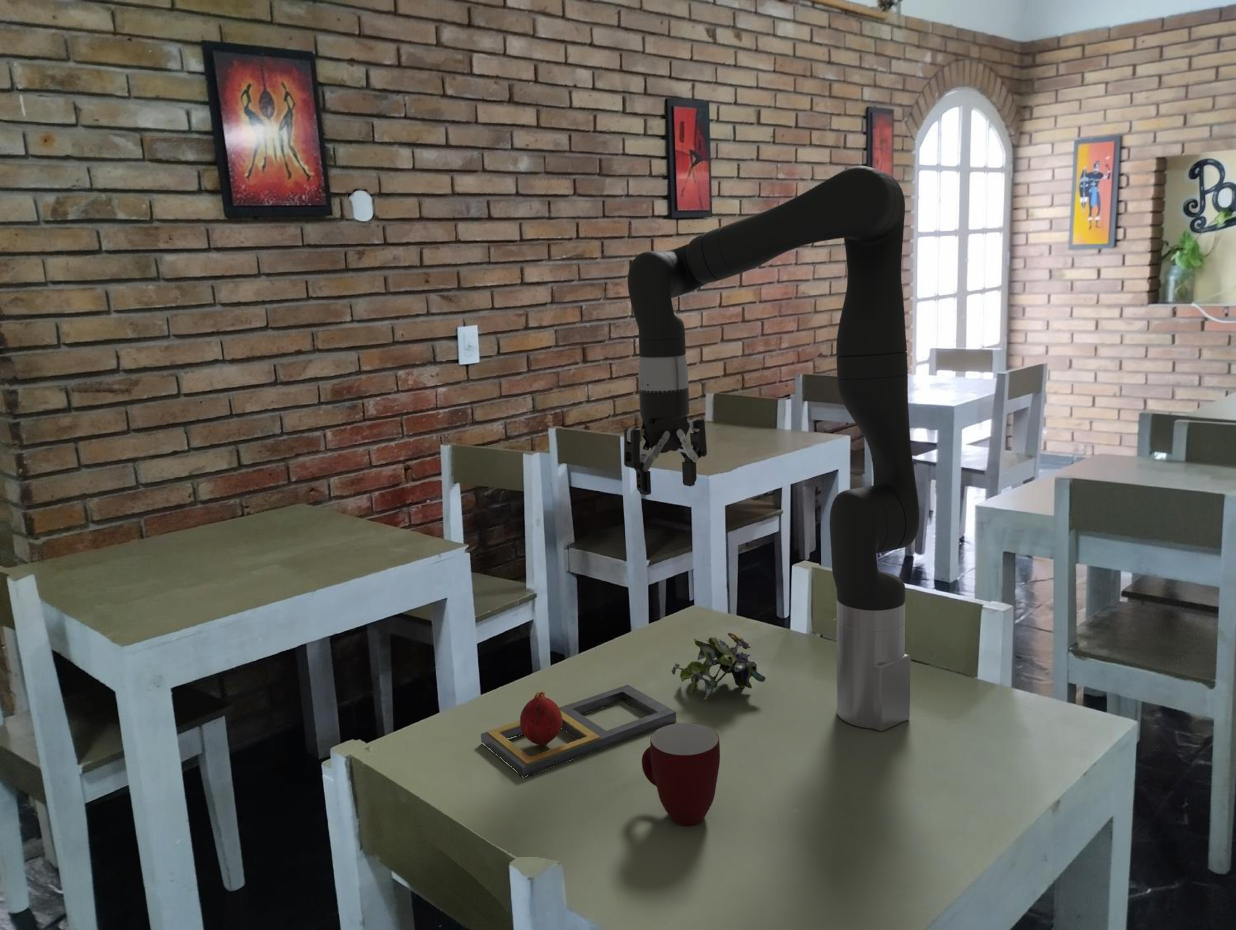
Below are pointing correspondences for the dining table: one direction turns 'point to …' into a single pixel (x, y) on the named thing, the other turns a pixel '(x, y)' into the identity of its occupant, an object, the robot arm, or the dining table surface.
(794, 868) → the dining table surface
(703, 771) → the mug
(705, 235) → the robot arm
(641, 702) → the grey yellow flat frame
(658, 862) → the dining table surface
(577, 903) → the dining table surface
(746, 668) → the passion flower
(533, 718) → the onion
